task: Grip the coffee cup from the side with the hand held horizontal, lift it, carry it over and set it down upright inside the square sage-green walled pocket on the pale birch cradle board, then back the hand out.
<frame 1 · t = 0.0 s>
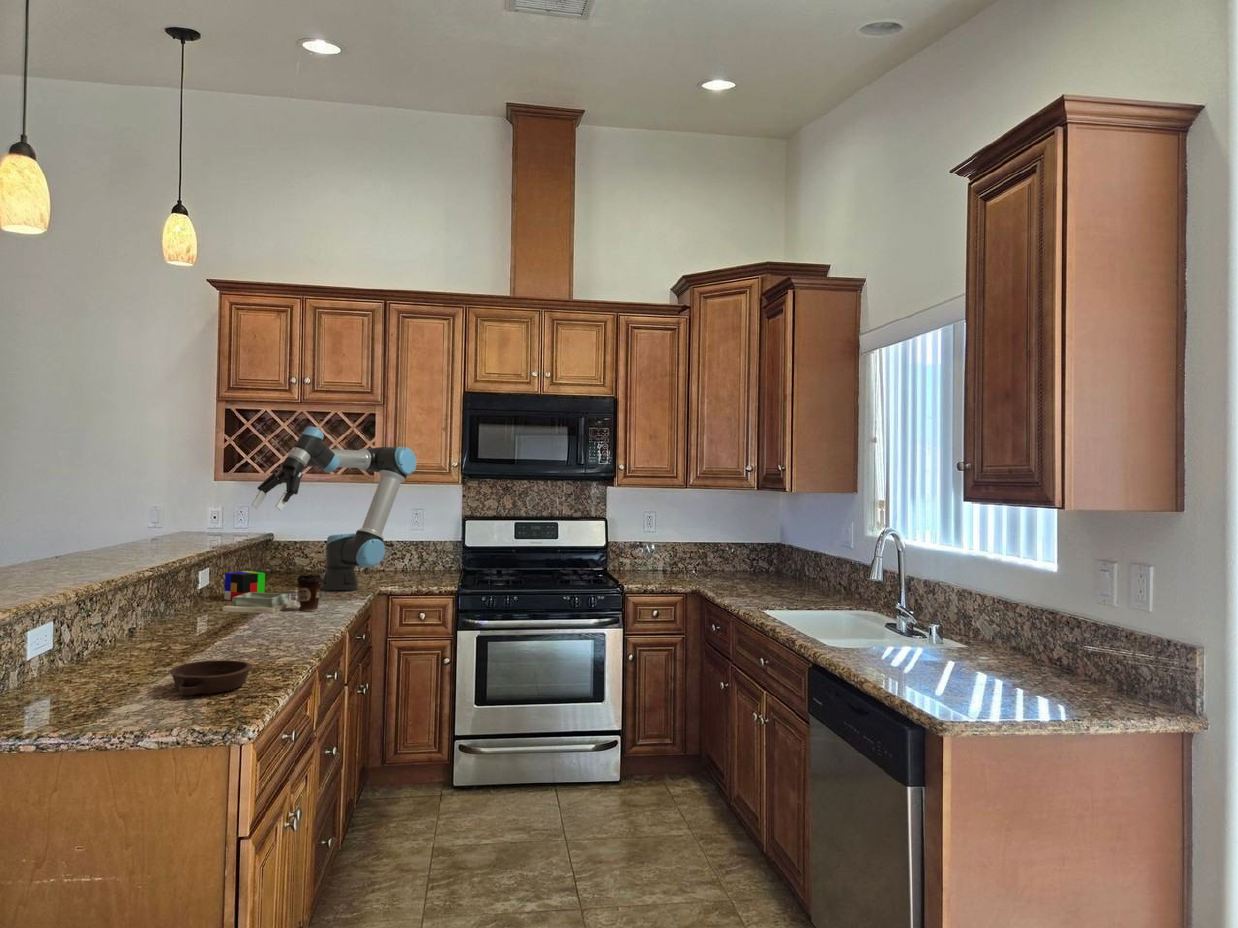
hand: (266, 507, 325), 36 cm above the worktop, tool tilted 35°, fingers open, 13 cm apart
coffee cup: (308, 610, 317), on the worktop
dish: (211, 689, 206), on the worktop
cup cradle: (260, 607, 318), on the worktop
puzzle toy: (244, 599, 338), on the worktop
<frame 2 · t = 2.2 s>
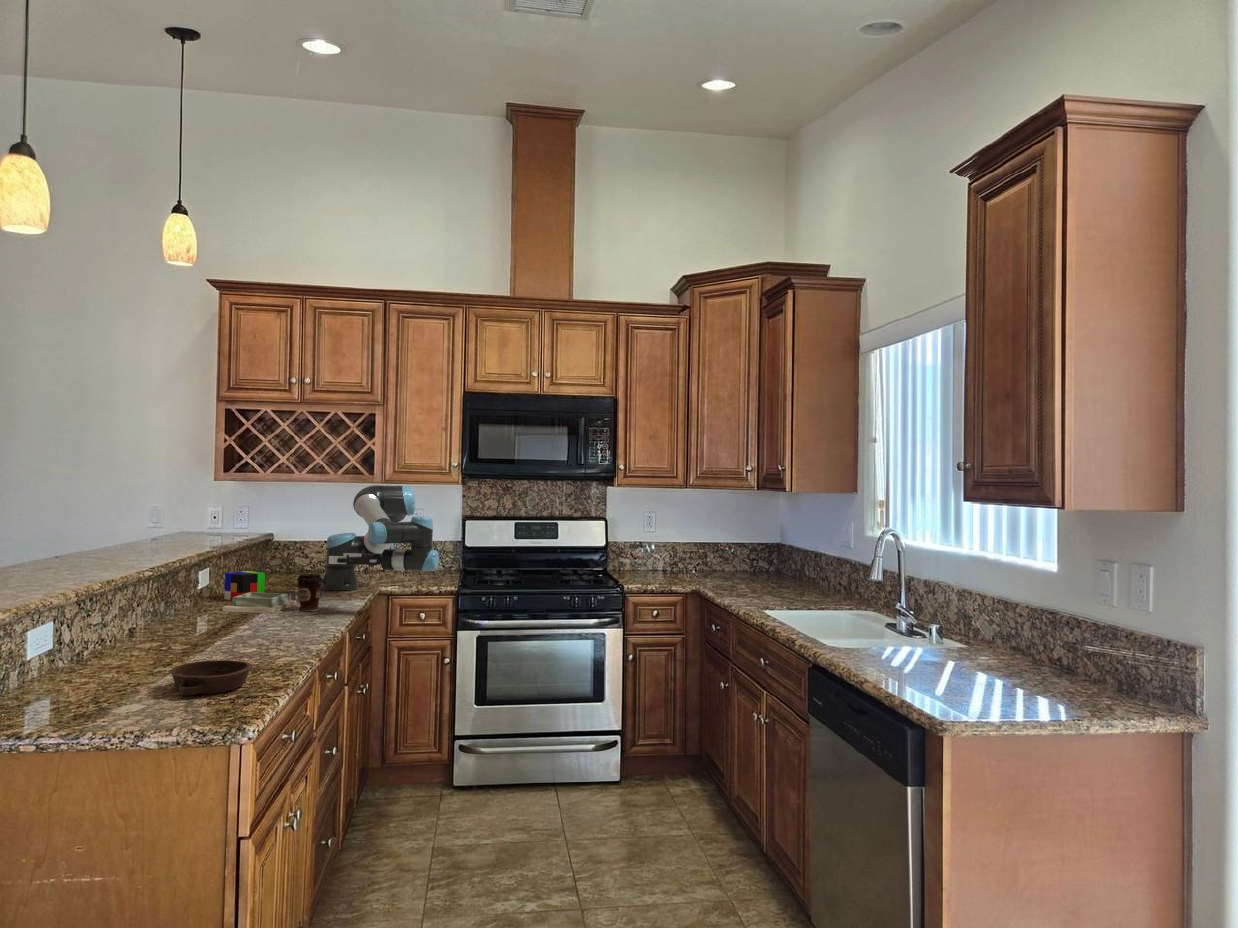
hand: (336, 558, 316), 19 cm above the worktop, tool horizontal, fingers open, 13 cm apart
nothing on the worktop moved.
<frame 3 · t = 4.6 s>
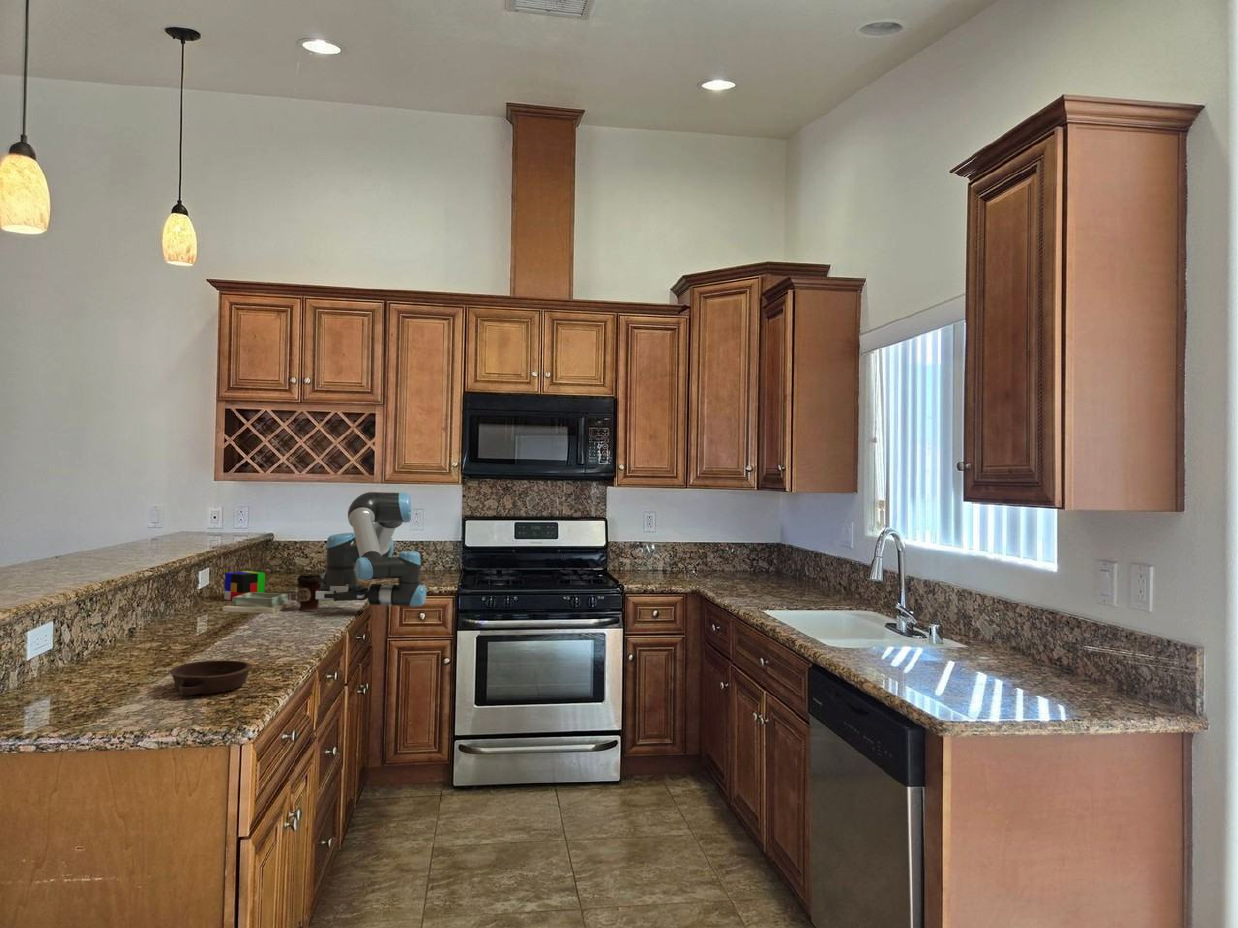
hand: (323, 592, 316), 7 cm above the worktop, tool horizontal, fingers open, 13 cm apart
nothing on the worktop moved.
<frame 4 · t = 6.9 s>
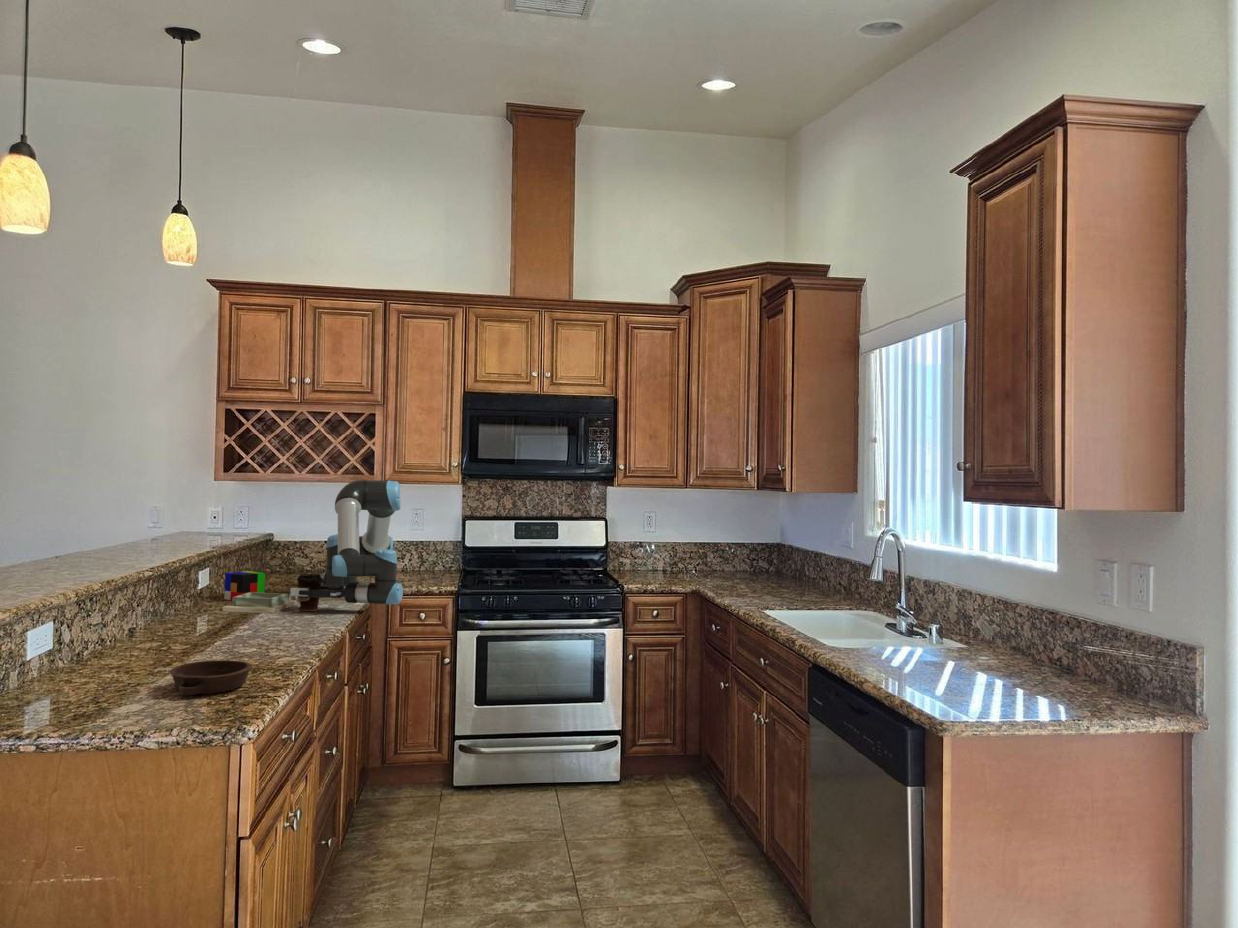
hand: (295, 590, 317), 7 cm above the worktop, tool horizontal, fingers closed on coffee cup, 7 cm apart
coffee cup: (308, 610, 317), on the worktop, touching gripper
everything else where it was.
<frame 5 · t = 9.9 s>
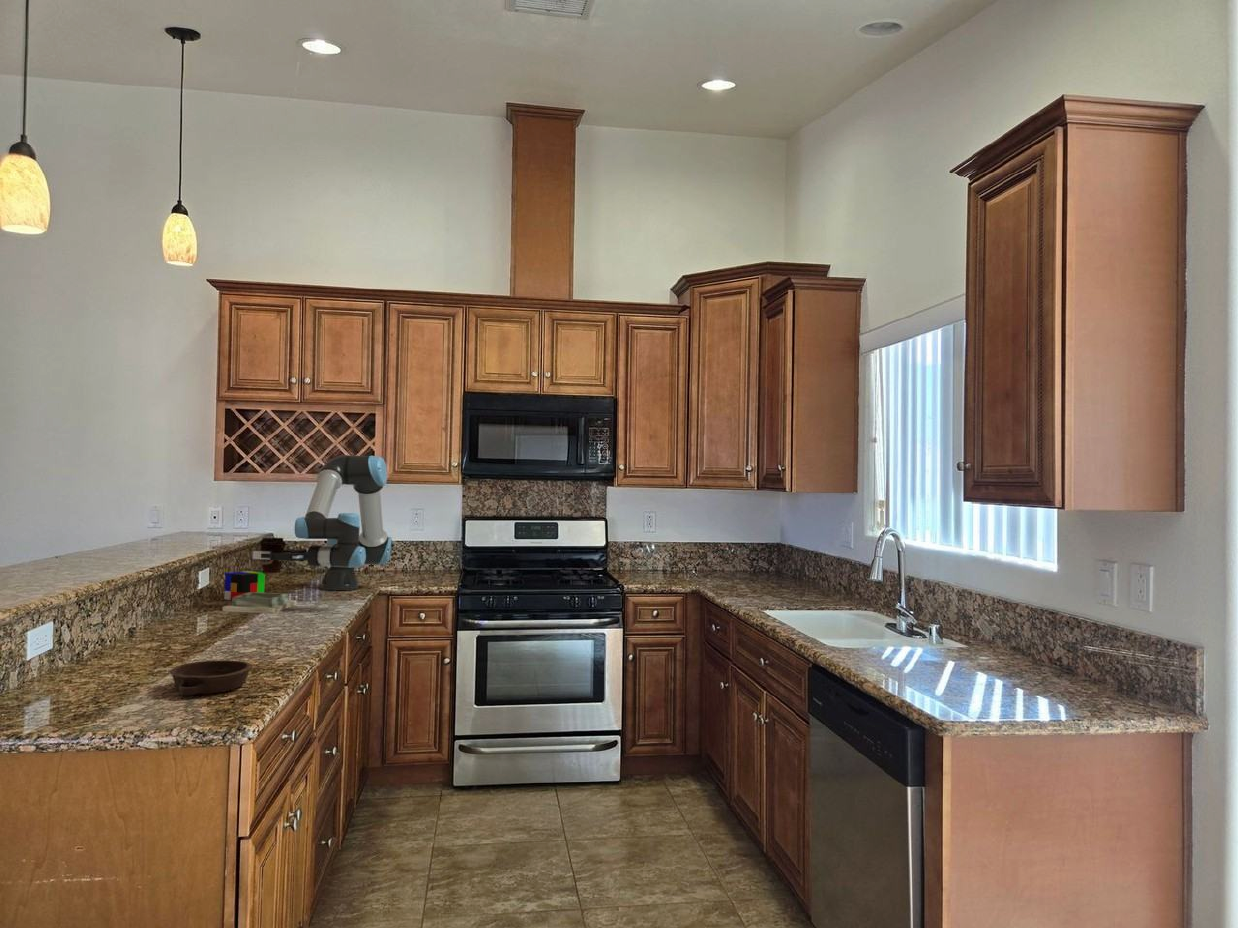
hand: (258, 553, 318), 20 cm above the worktop, tool horizontal, fingers closed on coffee cup, 7 cm apart
coffee cup: (271, 574, 317), point 12 cm above the worktop, touching gripper
everything else where it was.
when the fingers open (10 cm above the worktop, at t = 13.1 s): coffee cup drops 1 cm, resting on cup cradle.
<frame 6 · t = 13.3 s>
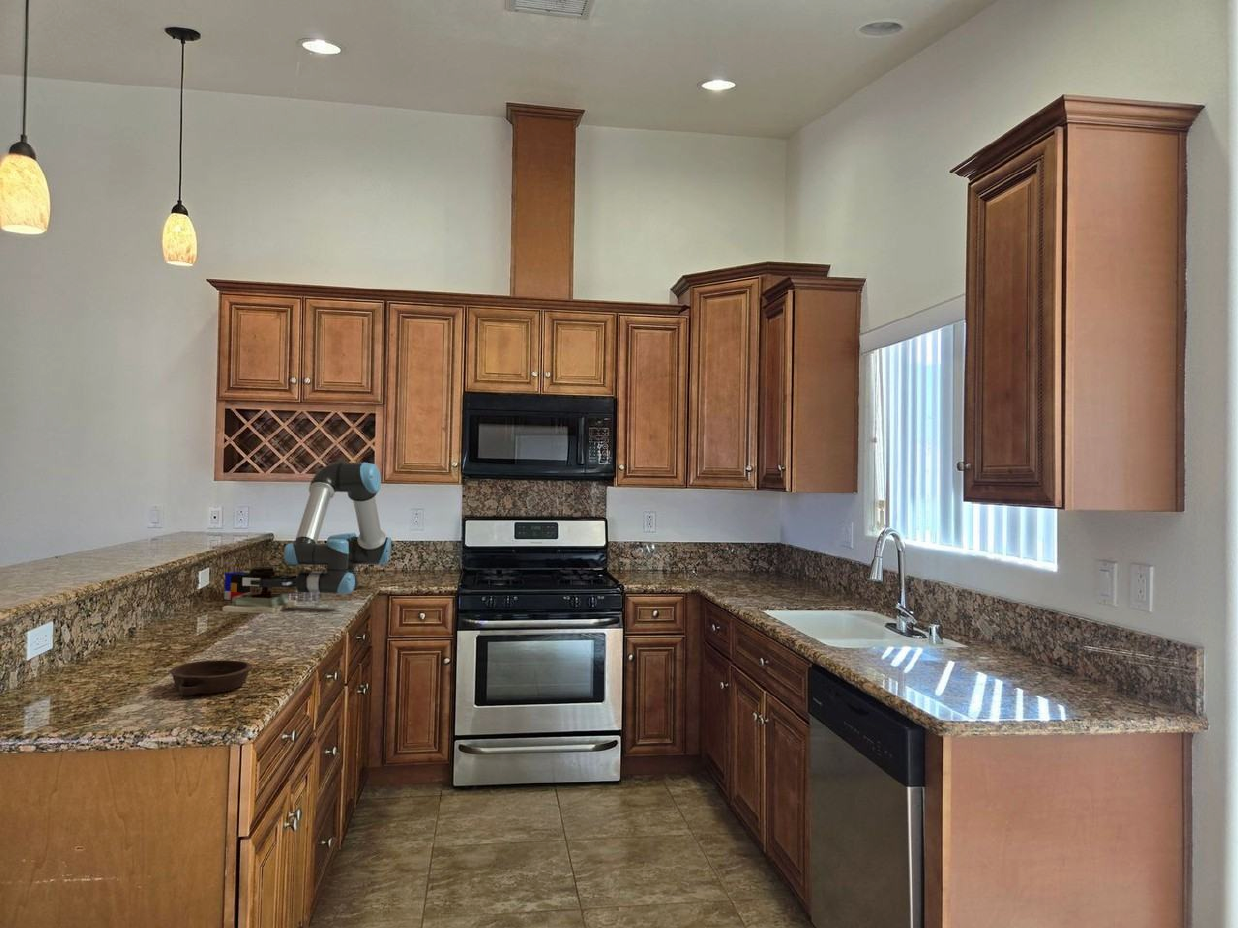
hand: (249, 579, 319), 10 cm above the worktop, tool horizontal, fingers open, 9 cm apart
coffee cup: (260, 604, 319), point 1 cm above the worktop, touching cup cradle
everything else where it was.
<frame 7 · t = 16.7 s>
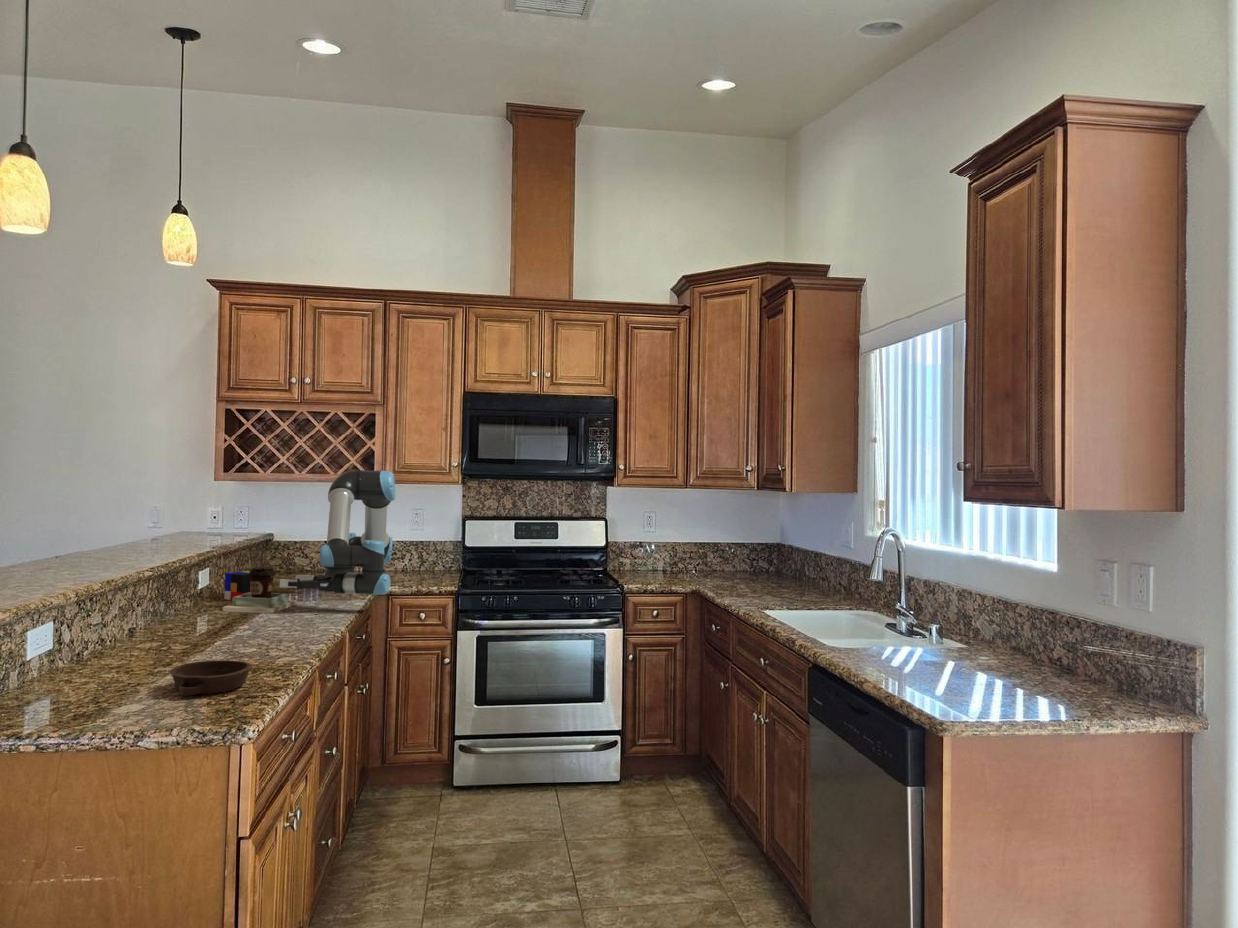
hand: (288, 580, 318), 10 cm above the worktop, tool horizontal, fingers open, 13 cm apart
nothing on the worktop moved.
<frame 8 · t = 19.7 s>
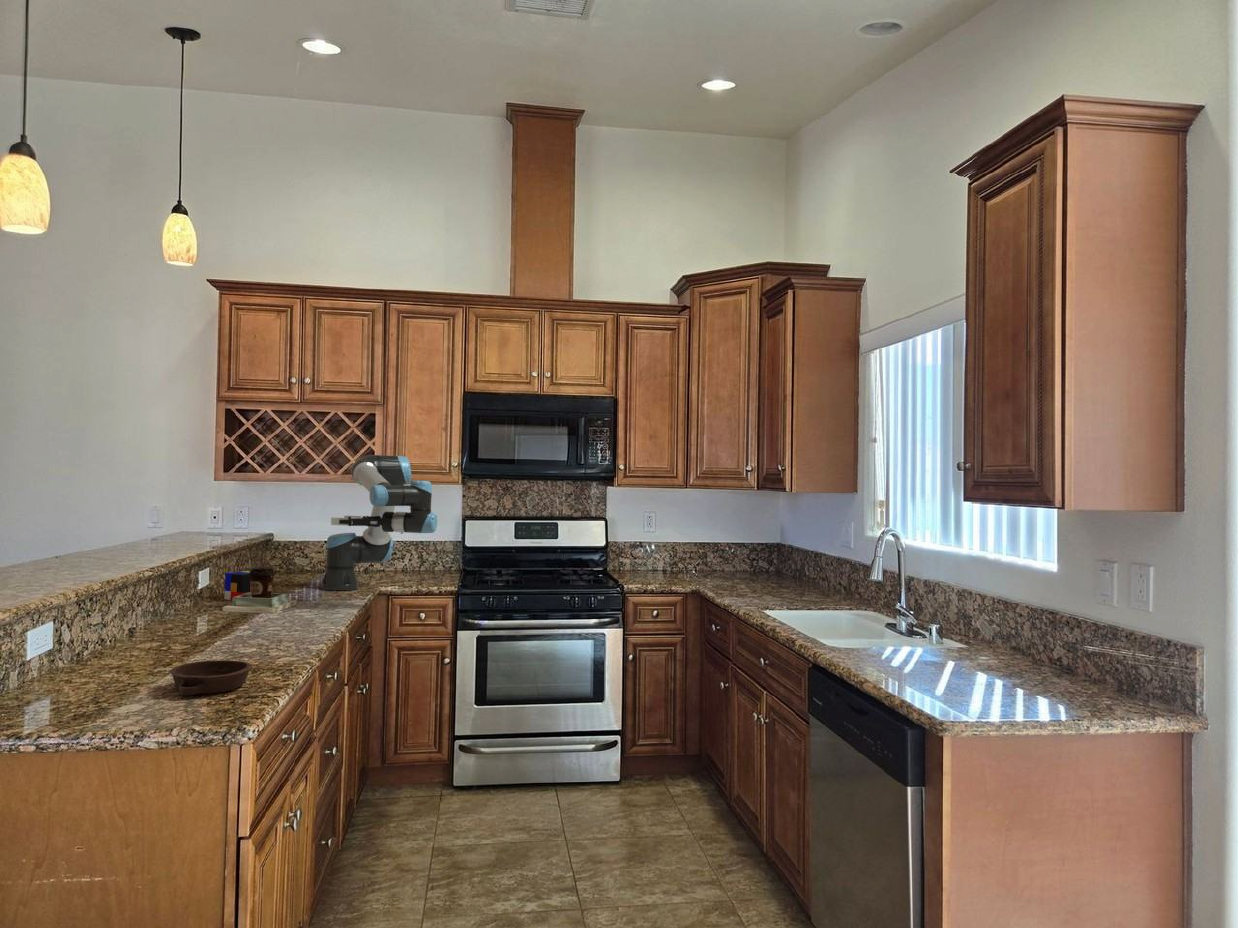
hand: (338, 520, 328), 32 cm above the worktop, tool horizontal, fingers open, 13 cm apart
nothing on the worktop moved.
at the end: coffee cup 0.1 cm off-centre on the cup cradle, point 1.3 cm above the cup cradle's base; coffee cup tilted 0°; the gripper is holding nothing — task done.
